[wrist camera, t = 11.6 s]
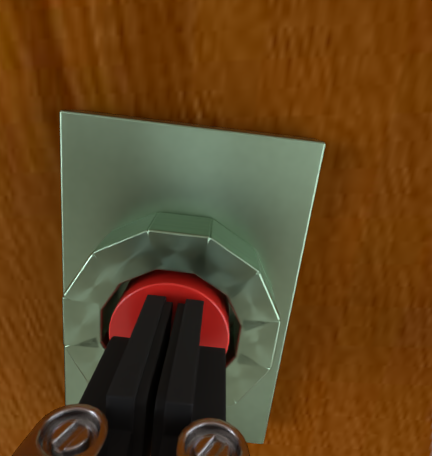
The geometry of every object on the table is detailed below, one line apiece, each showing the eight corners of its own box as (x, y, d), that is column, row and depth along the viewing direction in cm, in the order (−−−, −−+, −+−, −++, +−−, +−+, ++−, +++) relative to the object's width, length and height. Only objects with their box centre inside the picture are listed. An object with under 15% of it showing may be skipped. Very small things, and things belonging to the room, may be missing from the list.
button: (125, 252, 12) (109, 276, 10) (235, 265, 12) (236, 291, 10) (121, 345, 13) (106, 380, 11) (222, 356, 13) (221, 393, 11)
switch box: (73, 109, 12) (26, 110, 9) (317, 138, 12) (346, 148, 9) (76, 401, 16) (43, 466, 13) (260, 420, 16) (269, 489, 13)
